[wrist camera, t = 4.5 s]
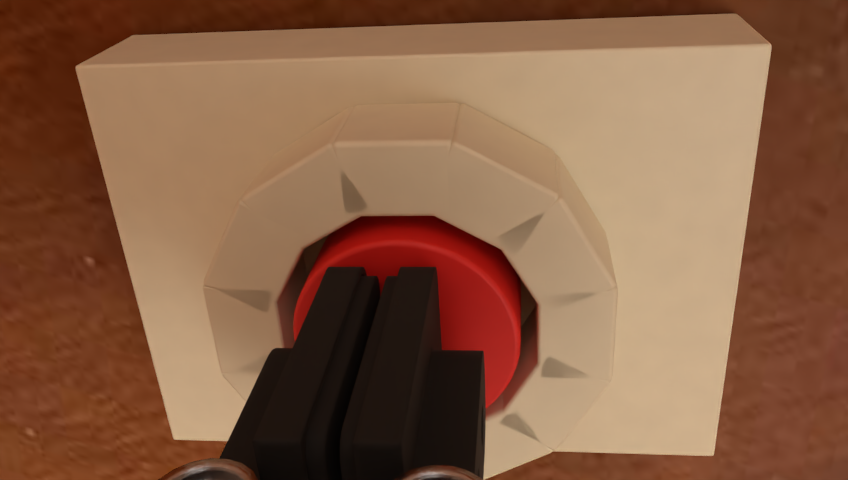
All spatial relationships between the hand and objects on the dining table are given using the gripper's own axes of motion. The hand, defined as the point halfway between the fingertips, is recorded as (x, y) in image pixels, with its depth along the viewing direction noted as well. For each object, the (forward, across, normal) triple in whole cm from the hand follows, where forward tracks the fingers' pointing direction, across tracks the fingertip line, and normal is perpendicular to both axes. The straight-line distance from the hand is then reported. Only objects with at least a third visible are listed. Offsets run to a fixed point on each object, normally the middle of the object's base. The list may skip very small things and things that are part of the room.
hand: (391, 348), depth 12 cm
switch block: (+4, 0, 0) cm, 4 cm away
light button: (+2, 0, 0) cm, 2 cm away
